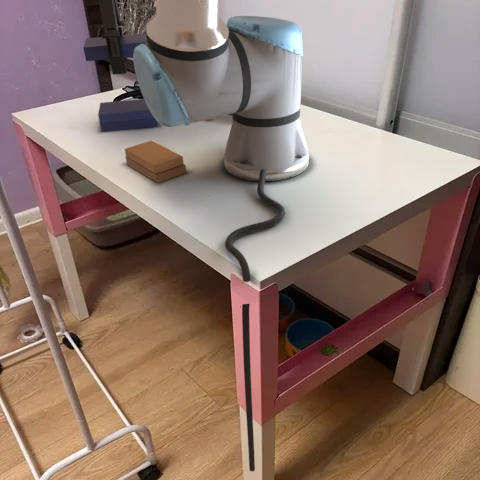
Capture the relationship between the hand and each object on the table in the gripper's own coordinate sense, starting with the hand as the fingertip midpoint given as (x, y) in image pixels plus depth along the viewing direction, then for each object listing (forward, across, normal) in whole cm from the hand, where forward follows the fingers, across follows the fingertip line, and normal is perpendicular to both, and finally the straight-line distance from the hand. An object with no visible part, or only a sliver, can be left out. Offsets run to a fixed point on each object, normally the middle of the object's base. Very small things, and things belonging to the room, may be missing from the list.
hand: (120, 67), depth 105 cm
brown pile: (+11, +26, +5) cm, 29 cm away
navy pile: (+11, 0, 0) cm, 11 cm away
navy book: (-3, 0, 0) cm, 3 cm away
